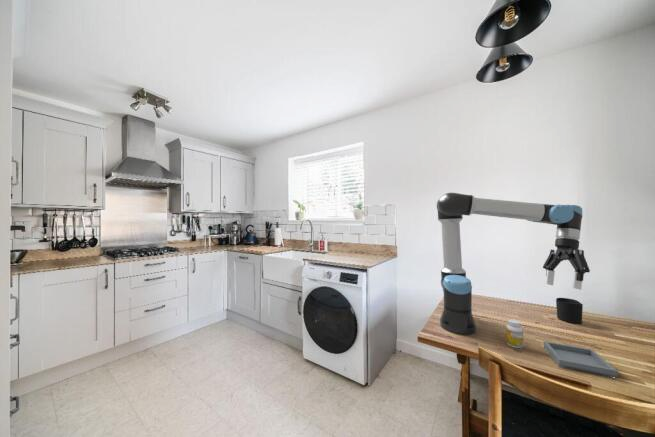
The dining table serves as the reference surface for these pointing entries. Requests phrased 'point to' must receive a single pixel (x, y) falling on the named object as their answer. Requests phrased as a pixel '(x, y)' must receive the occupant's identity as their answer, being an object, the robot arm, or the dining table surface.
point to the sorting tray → (579, 359)
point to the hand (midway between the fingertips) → (562, 286)
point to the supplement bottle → (514, 334)
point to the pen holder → (569, 310)
